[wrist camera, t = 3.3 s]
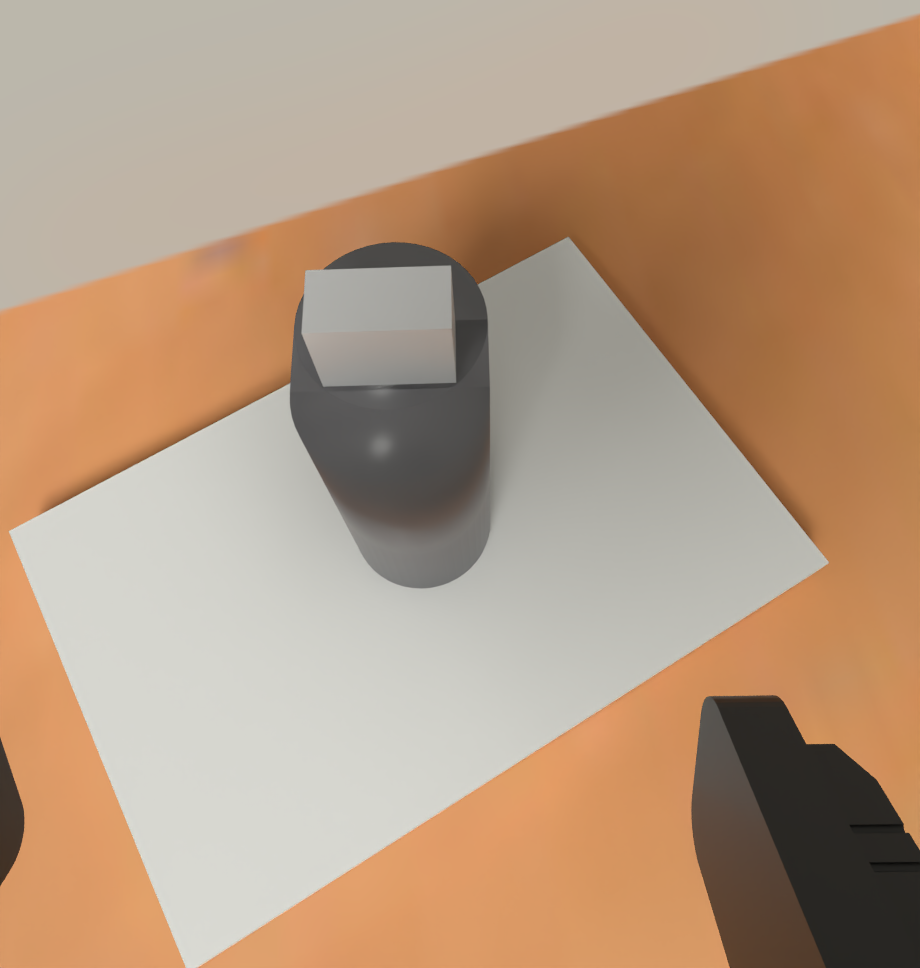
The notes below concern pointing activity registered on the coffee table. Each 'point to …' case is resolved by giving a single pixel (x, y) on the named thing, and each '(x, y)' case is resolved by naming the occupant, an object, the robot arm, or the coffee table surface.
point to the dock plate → (393, 608)
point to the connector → (398, 406)
